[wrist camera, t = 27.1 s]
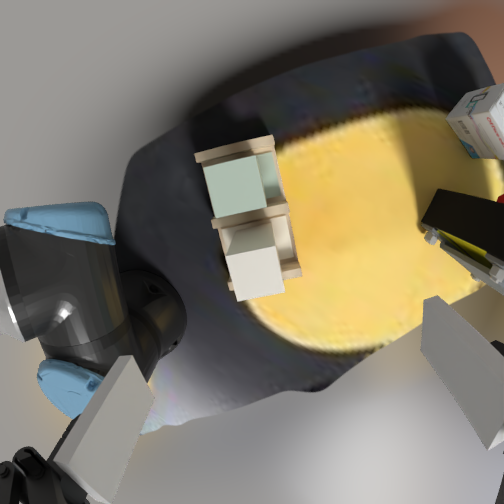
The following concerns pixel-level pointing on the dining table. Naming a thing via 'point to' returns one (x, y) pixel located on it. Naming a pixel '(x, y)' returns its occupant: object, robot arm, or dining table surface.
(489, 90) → the ink box
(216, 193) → the sage plug
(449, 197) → the electrical component
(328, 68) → the dining table surface
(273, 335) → the dining table surface
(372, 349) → the dining table surface
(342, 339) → the dining table surface
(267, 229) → the white tall block
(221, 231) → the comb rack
